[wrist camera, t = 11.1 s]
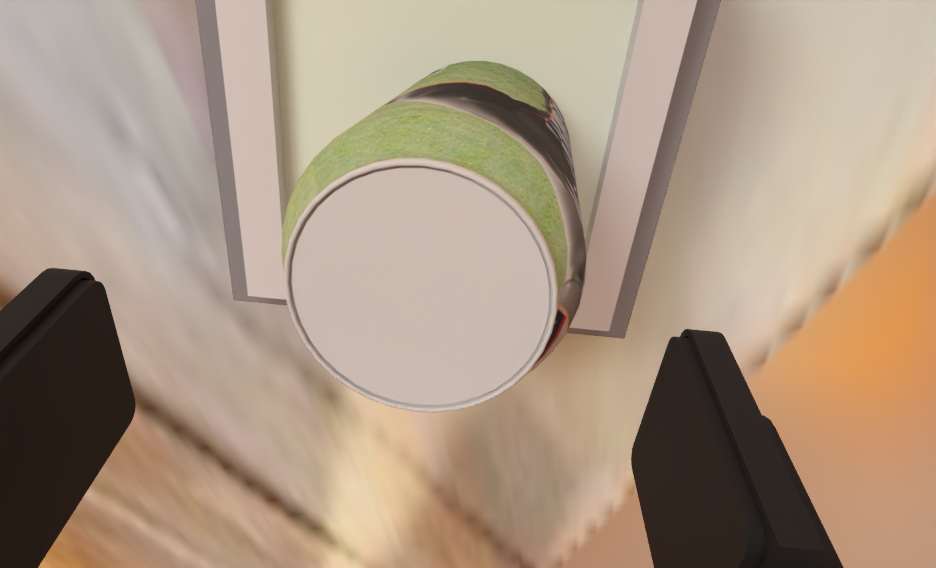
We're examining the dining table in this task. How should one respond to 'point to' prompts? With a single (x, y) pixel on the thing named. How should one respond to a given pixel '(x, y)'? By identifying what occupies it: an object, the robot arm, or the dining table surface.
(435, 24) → the stand
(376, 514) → the dining table surface
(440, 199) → the beverage can
